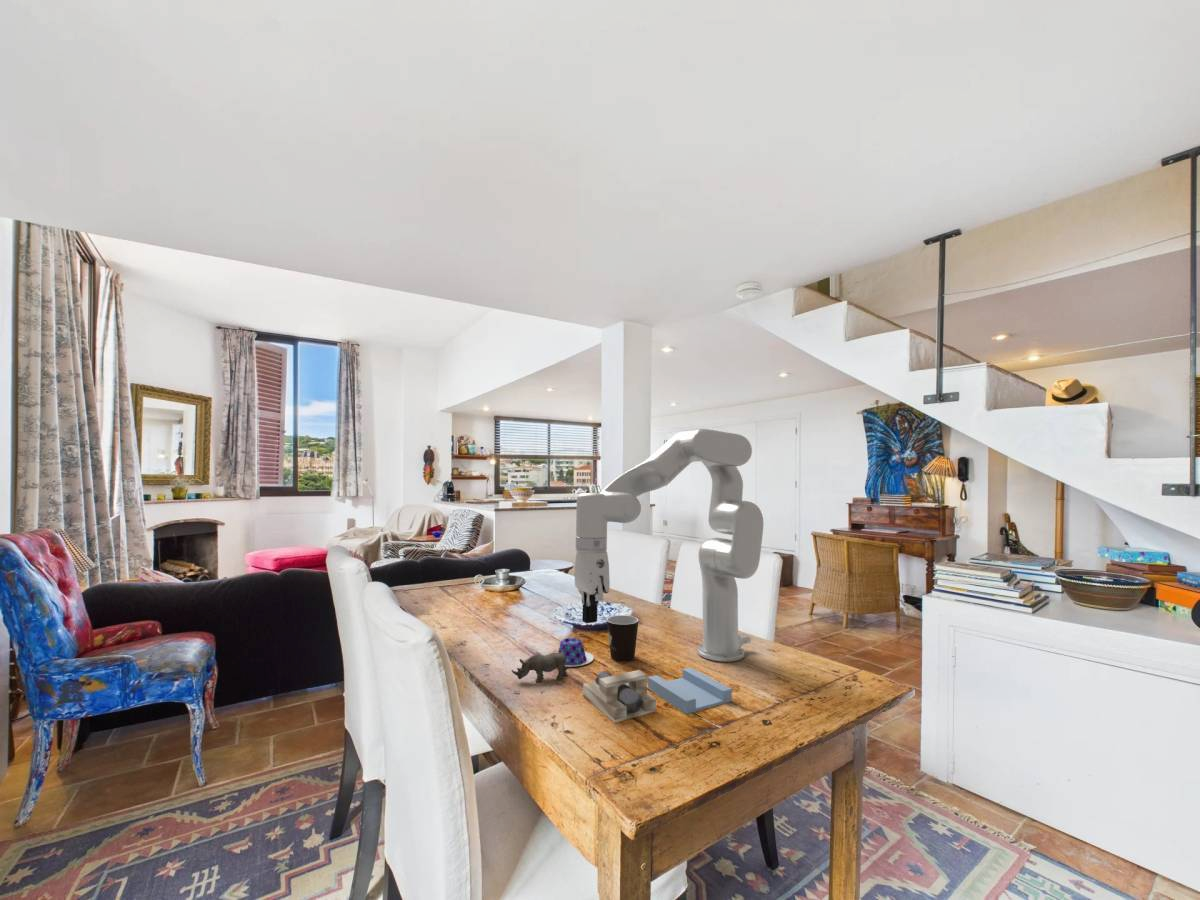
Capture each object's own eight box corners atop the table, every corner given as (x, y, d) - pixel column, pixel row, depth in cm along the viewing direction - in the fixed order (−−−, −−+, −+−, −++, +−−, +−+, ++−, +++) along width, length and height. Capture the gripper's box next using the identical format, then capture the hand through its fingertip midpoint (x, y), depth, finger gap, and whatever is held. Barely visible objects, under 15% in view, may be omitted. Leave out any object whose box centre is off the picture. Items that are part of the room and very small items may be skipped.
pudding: (545, 655, 137) (545, 635, 138) (587, 650, 141) (587, 632, 141) (553, 671, 126) (553, 650, 126) (598, 666, 129) (598, 646, 129)
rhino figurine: (510, 679, 120) (510, 654, 120) (565, 672, 124) (565, 648, 125) (512, 686, 116) (512, 660, 117) (569, 679, 120) (569, 654, 121)
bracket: (621, 686, 116) (621, 658, 116) (656, 711, 104) (656, 680, 104) (583, 695, 111) (583, 666, 112) (614, 722, 99) (614, 690, 99)
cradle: (690, 678, 121) (690, 667, 121) (731, 701, 109) (731, 688, 109) (648, 688, 115) (647, 677, 115) (686, 714, 103) (686, 701, 103)
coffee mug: (636, 664, 130) (636, 625, 130) (604, 661, 131) (604, 623, 132) (641, 649, 141) (641, 613, 142) (611, 647, 143) (611, 611, 143)
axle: (595, 690, 113) (595, 672, 113) (610, 687, 114) (610, 669, 115) (625, 715, 101) (625, 695, 101) (642, 710, 103) (642, 690, 103)
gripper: (620, 547, 115) (619, 628, 114) (590, 540, 128) (589, 612, 127) (592, 549, 112) (590, 632, 111) (564, 541, 125) (562, 615, 124)
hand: (589, 621), depth 119 cm, fingers closed
